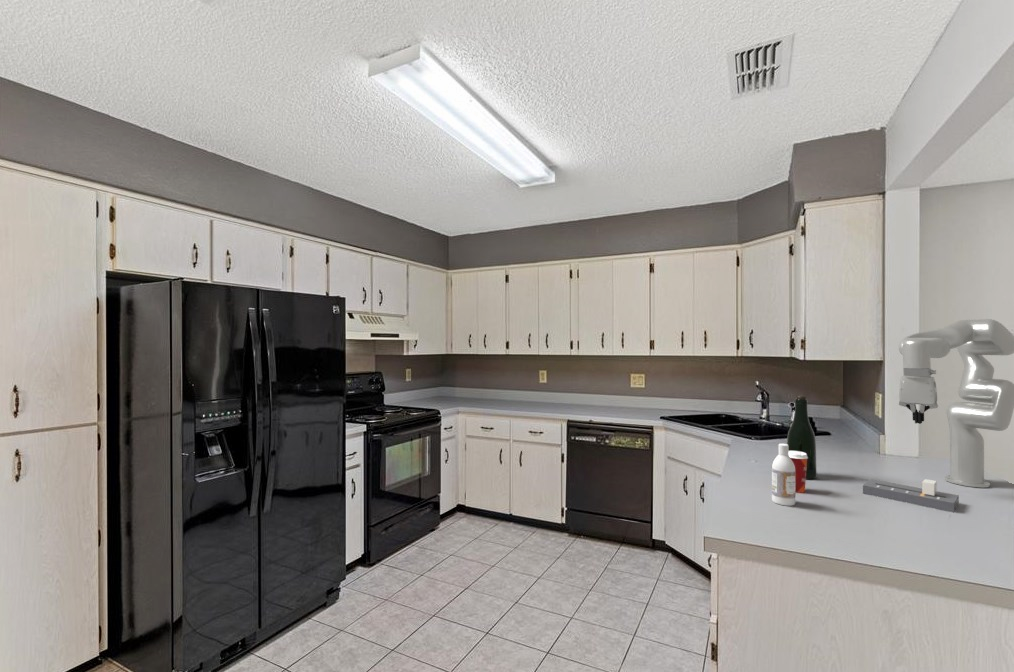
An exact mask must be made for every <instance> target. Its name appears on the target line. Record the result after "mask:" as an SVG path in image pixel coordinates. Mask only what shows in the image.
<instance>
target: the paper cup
mask: <svg viewBox="0 0 1014 672" xmlns="http://www.w3.org/2000/svg"><path fill="white" fill-rule="evenodd" d="M788 455H789V457H790V458H791V460H792V461H793V463H794V466H795V494H796V493H798V494H801V493H802V494H803V493H805V490H806V480H807V479H806V468H807V458H808V457H807V454H806V453H804V452H799V451H789V452H788Z"/></svg>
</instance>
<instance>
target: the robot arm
mask: <svg viewBox="0 0 1014 672" xmlns="http://www.w3.org/2000/svg"><path fill="white" fill-rule="evenodd" d="M951 349H957V351H958V353H959V355H960V357H961V361H962V362H963V363H962V364H963V371H962V375H961V377H960V380H959V381H960V382H959V386H958V389H957V390H958V391H957V392H958V396H959V397H960V398H961V399H962V400H964V401H955V402H952V403H950V404H948V406H947V407H946V412H945V413H946V417H947V422H948V428H949V475H945V476H944V480H945V481H946V482H949V483H952V484H955V485H960V486H963V487H964V486H965V487H969V488H970V487H972V488H985V489H986V488H989V487H991V484H990V482H989V481H987V480H985V439H984V437H983V436H982V434H981V432H980V431H979V430H978V429H981V430H989V431H996V432H997V431H998V432H1003V431H1006V429H1008V428H1009V425H1010V424H1011V422H1012V417H1013V414H1014V382H1013V381H1010V380H1007V379H1003V378H1002V379H1000V378H994V375H995V374H994V373H995V368H994V366H993V365H992V363H991V362H990V361H989V360H988V359H987V358H985V357H984V356H1009V355H1013V354H1014V334H1013V333H1012V332H1011V331H1010V330H1009V329H1008V328H1007V327H1006V326H1004V324H1003V323H1001V322H1000V321H997V320H995V319H990V318H989V319H988V318H985V319H983V318H981V319H962V320H958V321H955V322H952V323H951V324H948V325H947V326H946V325H945V326H944V327H941V328H936V329H931V330H927V331H921V332H916V333H913V334H910V335H907V336H906V337H903V339H901V341H900V342H899V344H898V350H899V354H901V355H902V364H903V365H902V366H903V367H902V368H903V369H902V371H903V375H901V376H900V380H899V393H898V399H899V402H898V405H899V406H900V407H905V408H907V409H908V410H909V411H911V412H912V421H914V424H920V425H921V424H922V423H923V422H925V412H926V411H927V412H928V410H932V409H938V407H939V404H938V392H937V391H938V389H937V383H936V379H935V376H932V375H937V370H934V369H932V367H931V366H932V365H931V359H940V358H942V359H943V358H944V357H946V356H947V355H949V354H950V352H951ZM967 401H968V402H967ZM984 403H985V404H984ZM916 405H919V410H918V408H917V406H916Z"/></svg>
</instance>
